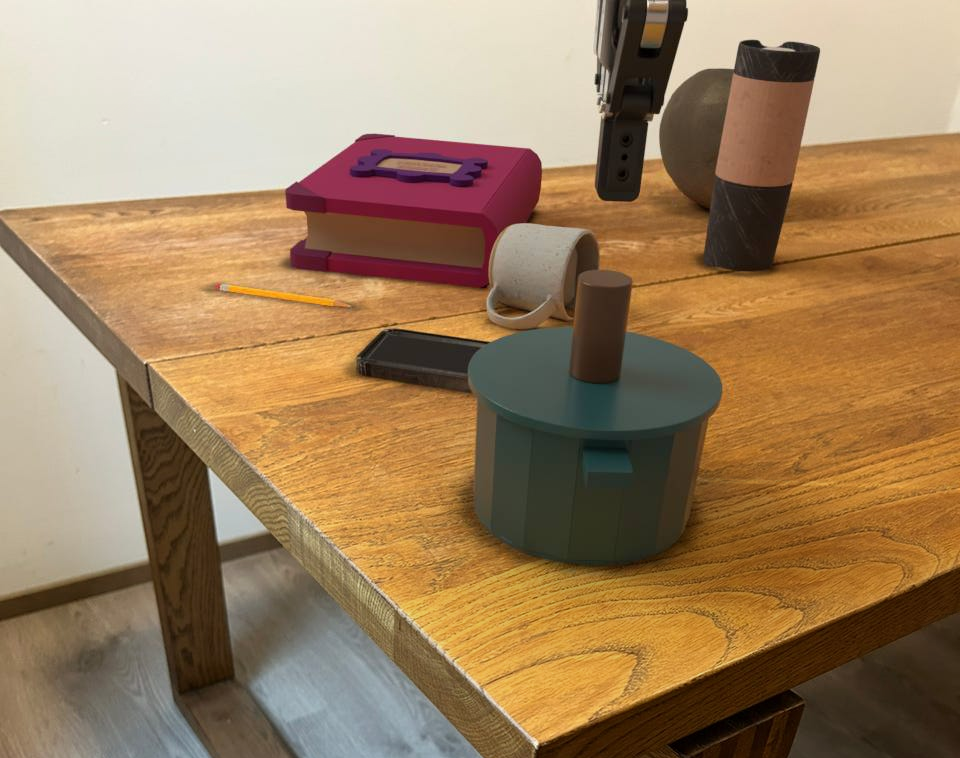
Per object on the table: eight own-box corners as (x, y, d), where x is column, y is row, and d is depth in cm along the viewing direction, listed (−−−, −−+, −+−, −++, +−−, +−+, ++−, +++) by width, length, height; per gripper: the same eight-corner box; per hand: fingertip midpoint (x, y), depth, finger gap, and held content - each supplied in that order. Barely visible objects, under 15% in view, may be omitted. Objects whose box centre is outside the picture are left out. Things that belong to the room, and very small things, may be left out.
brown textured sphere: (767, 199, 126) (794, 64, 117) (764, 230, 115) (794, 83, 106) (655, 188, 129) (674, 54, 119) (642, 217, 118) (661, 72, 109)
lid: (694, 348, 65) (713, 242, 61) (743, 455, 53) (770, 332, 49) (467, 340, 65) (470, 233, 60) (466, 446, 53) (471, 322, 49)
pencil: (219, 290, 93) (218, 282, 93) (354, 309, 90) (353, 301, 90) (215, 292, 92) (214, 285, 92) (351, 312, 90) (350, 304, 89)
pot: (662, 443, 72) (681, 327, 66) (713, 598, 57) (743, 463, 51) (472, 437, 71) (477, 320, 66) (473, 591, 56) (479, 455, 51)
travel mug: (745, 282, 100) (791, 54, 88) (685, 262, 105) (721, 42, 92) (788, 268, 105) (838, 48, 92) (728, 249, 109) (768, 37, 97)
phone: (385, 326, 84) (560, 351, 81) (385, 339, 84) (559, 364, 82) (351, 361, 78) (538, 389, 75) (351, 375, 78) (537, 403, 76)
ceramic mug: (519, 290, 96) (524, 206, 91) (597, 307, 93) (606, 221, 88) (463, 325, 88) (465, 235, 84) (545, 345, 85) (552, 253, 81)
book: (539, 213, 117) (544, 142, 112) (495, 291, 95) (499, 207, 91) (366, 196, 120) (364, 127, 115) (285, 268, 98) (279, 186, 93)
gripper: (794, -254, 36) (711, 237, 47) (722, -229, 47) (667, 169, 58) (590, -263, 36) (552, 232, 47) (563, -236, 47) (537, 164, 57)
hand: (615, 196), depth 52 cm, fingers closed
